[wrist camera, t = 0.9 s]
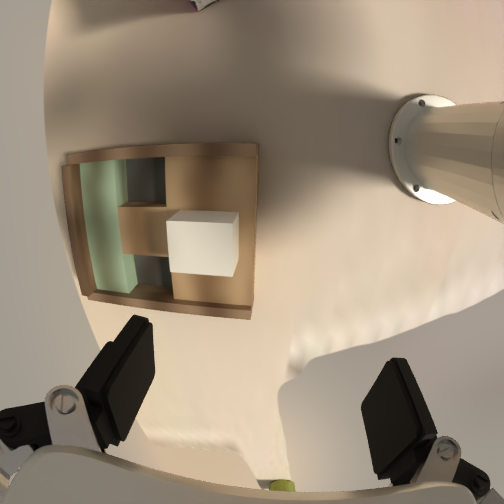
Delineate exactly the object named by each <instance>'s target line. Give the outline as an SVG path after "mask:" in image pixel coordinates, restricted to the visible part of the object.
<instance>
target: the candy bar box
mask: <svg viewBox="0 0 504 504" xmlns="http://www.w3.org/2000/svg"><path fill="white" fill-rule="evenodd" d="M188 1H189V2H190V3H191V4H192V5H193V7H194V8H195V9H196V10H197V11H200V10H202V9H204V8H206V7H207V6H209V5H211V4H212V3H214V2H216V1H219V0H188Z"/></svg>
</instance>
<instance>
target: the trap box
mask: <svg viewBox="0 0 504 504" xmlns="http://www.w3.org/2000/svg"><path fill="white" fill-rule="evenodd" d="M258 156H259V143H179V144H159V145H144V146H132V147H121V148H112V149H103V150H95V151H87V152H81V153H74V154H68V155H67V165H65V166H62V177H63V189H64V198H65V207H66V215H67V222H68V229H69V235H70V241H71V247H72V252H73V257H74V262H75V267H76V272H77V276H78V280H79V285H80V289H81V293H82V295H84V296H87V297H88V300H94V301H100V302H105V303H112V304H118V305H124V306H131V307H138V308H145V309H152V310H160V311H168V312H176V313H184V314H193V315H203V316H213V317H223V318H235V319H247V320H250V319H251V313H252V307H253V300H254V273H255V244H256V216H257V186H258ZM180 210H197V211H225V212H239V257H238V262H237V265H236V268H235V271H234V274H233V277H227V276H214V275H201V274H188V273H176V272H170V264H169V253H168V240H167V226H166V221H167V220H168V219H169V218H171V217H172V216H173V215H174V214H176V213H177V212H178V211H180Z"/></svg>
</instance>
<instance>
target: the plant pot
mask: <svg viewBox="0 0 504 504" xmlns="http://www.w3.org/2000/svg"><path fill="white" fill-rule="evenodd" d="M269 490H270V491H286V492H295V486H294V482H292V481H287V480H276V481H274V482H272V483H271V484H270V488H269Z"/></svg>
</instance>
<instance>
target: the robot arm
mask: <svg viewBox="0 0 504 504" xmlns="http://www.w3.org/2000/svg"><path fill="white" fill-rule="evenodd" d="M419 103H420V105H419ZM395 138H396V139H397V142H396V143H395ZM389 155H390V159H391V164H392V166H393V169H394V171H395V174H396V176H397V177H398V179H399V181H400V183H401V184H402V185H403V186H404V187H405V189H406V190H407V191H408V192H410V193H411V194H412V195H413V196H414V197H416V198H418V199H420V200H422V201H424V202H427V203H429V204H435V205H443V204H448V203H451V202H454V201H458V202H460V203H462V204H464V205H466V206H469V207H471V208H473V209H475V210H477V211H479V212H481V213H483V214H485V215H487V216H489V217H491V218H493V219H495V220H497V221H499V222H501V223H503V224H504V101H502V102H486V103H473V104H463V105H456V104H455V103H454V102H452V101H451V100H449V99H447V98H444V97H442V96H438V95H422V96H418V97H416V98H413V99H411V100H409V101H408V102H407V103H405V104H404V105H403V106H402V107H401V108H400V109H399V111H398V112H397V113H396V115H395V117H394V119H393V121H392V125H391V128H390V133H389ZM413 186H414V189H413ZM154 375H155V361H154V345H153V325H152V323H150V322H149V320H148V318H145V317H142V316H138V315H133V316H132V317H131V318H130V320H129V321H128V322H127V324H126V325H125V326H124V328H123V329H122V330H121V332H120V333H119V335H118V336H117V337H116V339H115V340H114V342H111V341H109V342H107V343H106V344H105V346H104V347H103V348H102V350H101V351H100V353H99V354H98V355H97V357H96V358H95V360H94V361H93V362H92V364H91V365H90V367H89V368H88V369H87V371H86V372H85V374H84V375H83V377H82V378H81V379H80V381H79V382H78V384H77V385H76V387H75V388H74V387H72V386H68V385H60V386H56V387H54V388H52V389H51V390H50V391H49V392H48V393H47V395H46V397H45V402H40V403H35V404H30V405H25V406H19V407H13V408H8V409H4V410H2V411H0V504H504V499H503V498H502V497H501V496H500V495H499V494H498V493H497V492H496V491H495V489H494V488H492V489H490V480H489V477H488V475H487V474H486V473H485V472H483V471H482V470H480V469H479V468H477V467H475V466H473V465H471V464H470V463H468V462H467V461H465V460H463V459H461V458H460V457H461V448H460V446H459V444H458V443H457V442H456V440H454V439H453V438H451V437H448V436H442V437H439V438H438V439H437V436H436V434H437V433H438V432H437V430H436V427H435V425H434V422H433V420H432V417H431V415H430V412H429V410H428V407H427V405H426V402H425V400H424V398H423V395H422V393H421V391H420V388H419V386H418V384H417V382H416V379H415V377H414V375H413V373H412V371H411V369H410V366H409V364H408V362H407V360H406V359H405V358H392V359H390V361H387V362H386V364H385V365H384V367H383V369H382V371H381V372H380V374H379V376H378V378H377V379H376V381H375V383H374V385H373V386H372V388H371V389H370V391H369V393H368V394H367V396H366V397H365V399H364V400H363V402H362V405H361V411H362V416H363V420H364V425H365V430H366V434H367V439H368V444H369V448H370V454H371V459H372V465H373V470H374V472H375V474H377V476H378V480H381V479H389V478H390V480H391V483H390V485H389V486H388V487H385V488H376V489H367V490H356V491H340V492H286V491H270V490H259V489H249V488H241V487H234V486H227V485H221V484H215V483H210V482H205V481H200V480H195V479H191V478H186V477H182V476H178V475H174V474H171V473H167V472H163V471H159V470H156V469H152V468H149V467H146V466H142V465H139V464H136V463H133V462H130V461H127V460H124V459H121V458H118V457H115V456H112V455H109V454H107V453H106V450H105V449H106V448H108V446H109V444H113V445H115V446H118V445H119V443H120V441H125V439H126V438H127V435H128V433H129V431H130V429H131V426H132V424H133V422H134V420H135V417H136V415H137V413H138V411H139V409H140V407H141V404H142V402H143V400H144V398H145V396H146V394H147V391H148V389H149V387H150V385H151V383H152V381H153V379H154ZM19 467H20V469H18V468H19ZM17 471H18V472H17ZM15 472H17V473H16V475H15V477H14V478H13V480H12V482H11V484H10V486H9V479H10V476H11V475H13V473H15Z"/></svg>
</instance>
